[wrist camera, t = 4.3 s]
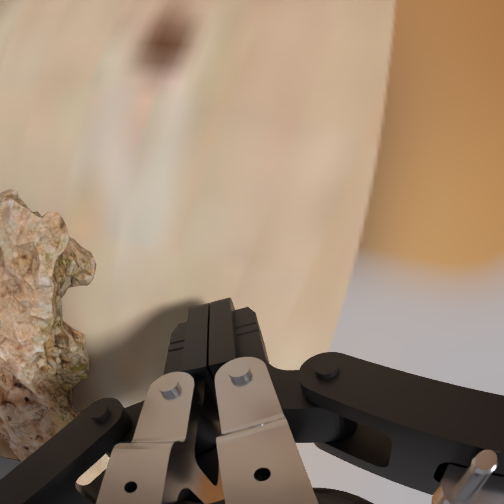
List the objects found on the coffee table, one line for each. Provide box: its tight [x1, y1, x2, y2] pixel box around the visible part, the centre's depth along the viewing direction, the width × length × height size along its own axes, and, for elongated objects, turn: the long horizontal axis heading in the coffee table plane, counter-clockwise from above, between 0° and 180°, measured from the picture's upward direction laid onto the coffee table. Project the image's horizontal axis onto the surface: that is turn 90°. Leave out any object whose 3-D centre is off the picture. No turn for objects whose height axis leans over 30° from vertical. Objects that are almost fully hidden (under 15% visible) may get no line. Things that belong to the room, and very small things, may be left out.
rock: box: [0, 189, 96, 462], centre depth 11 cm, size 17×5×10 cm
